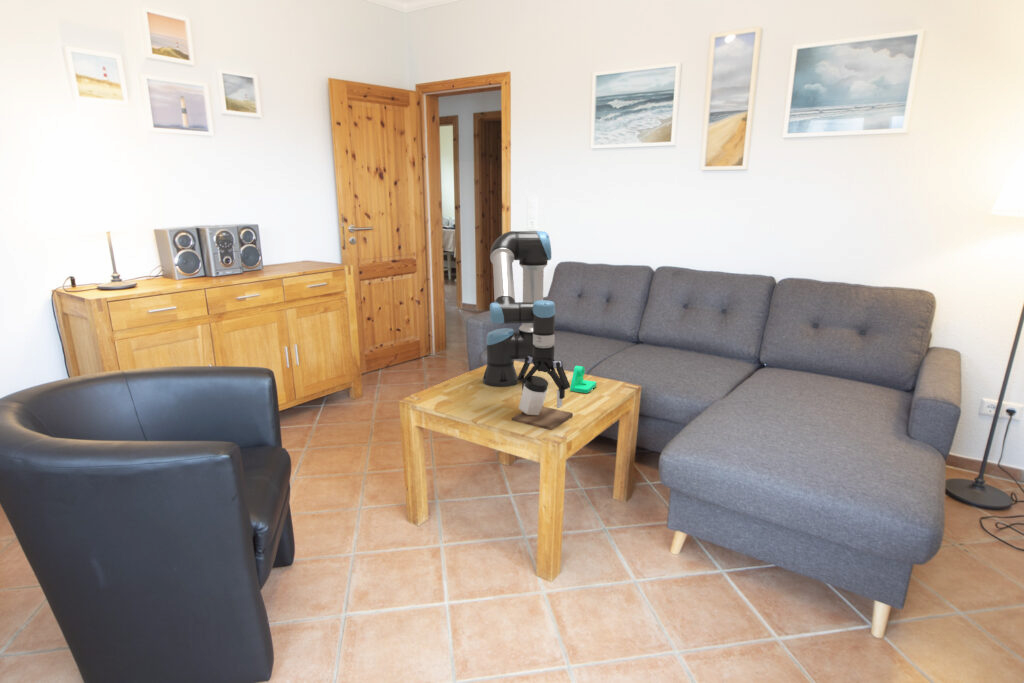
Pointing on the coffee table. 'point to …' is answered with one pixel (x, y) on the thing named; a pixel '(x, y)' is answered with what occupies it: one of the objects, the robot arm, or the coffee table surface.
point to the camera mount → (581, 381)
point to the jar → (533, 395)
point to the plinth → (544, 418)
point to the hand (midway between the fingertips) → (542, 403)
